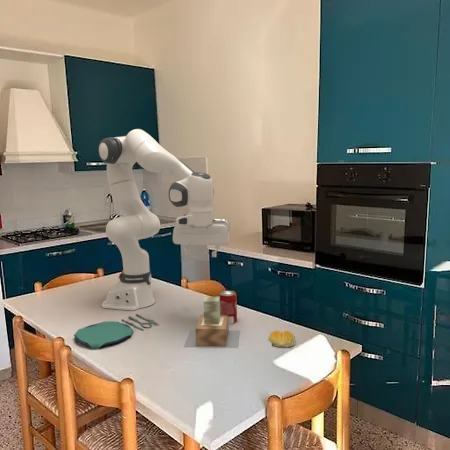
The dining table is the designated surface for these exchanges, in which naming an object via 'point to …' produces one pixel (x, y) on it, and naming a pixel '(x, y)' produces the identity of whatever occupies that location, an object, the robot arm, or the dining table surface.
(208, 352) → the dining table surface
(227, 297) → the soda can
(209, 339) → the wooden cube box
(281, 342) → the bread roll
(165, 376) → the dining table surface
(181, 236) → the robot arm
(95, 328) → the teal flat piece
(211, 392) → the dining table surface
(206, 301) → the sage block
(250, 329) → the dining table surface
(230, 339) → the grey flat slab
